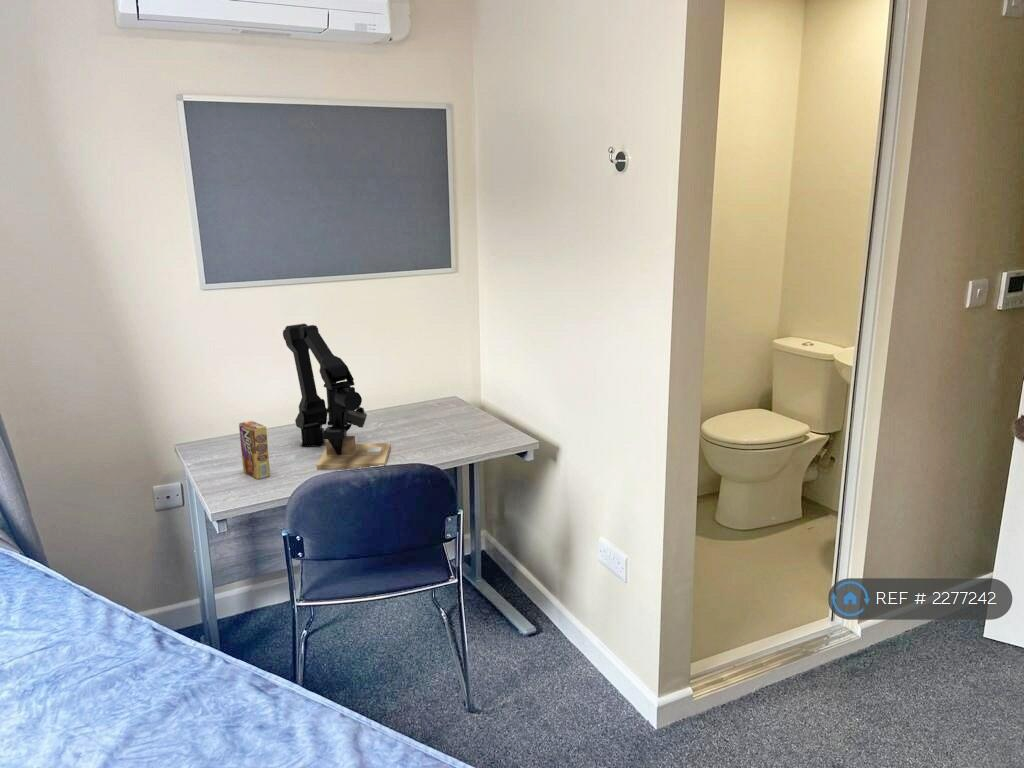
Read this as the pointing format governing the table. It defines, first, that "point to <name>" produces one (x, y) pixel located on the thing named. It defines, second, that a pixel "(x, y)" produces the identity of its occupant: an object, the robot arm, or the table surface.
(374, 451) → the white square tile
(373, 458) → the oak board
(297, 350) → the robot arm
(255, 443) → the candy box
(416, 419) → the table surface
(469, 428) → the table surface
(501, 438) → the table surface
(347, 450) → the block
